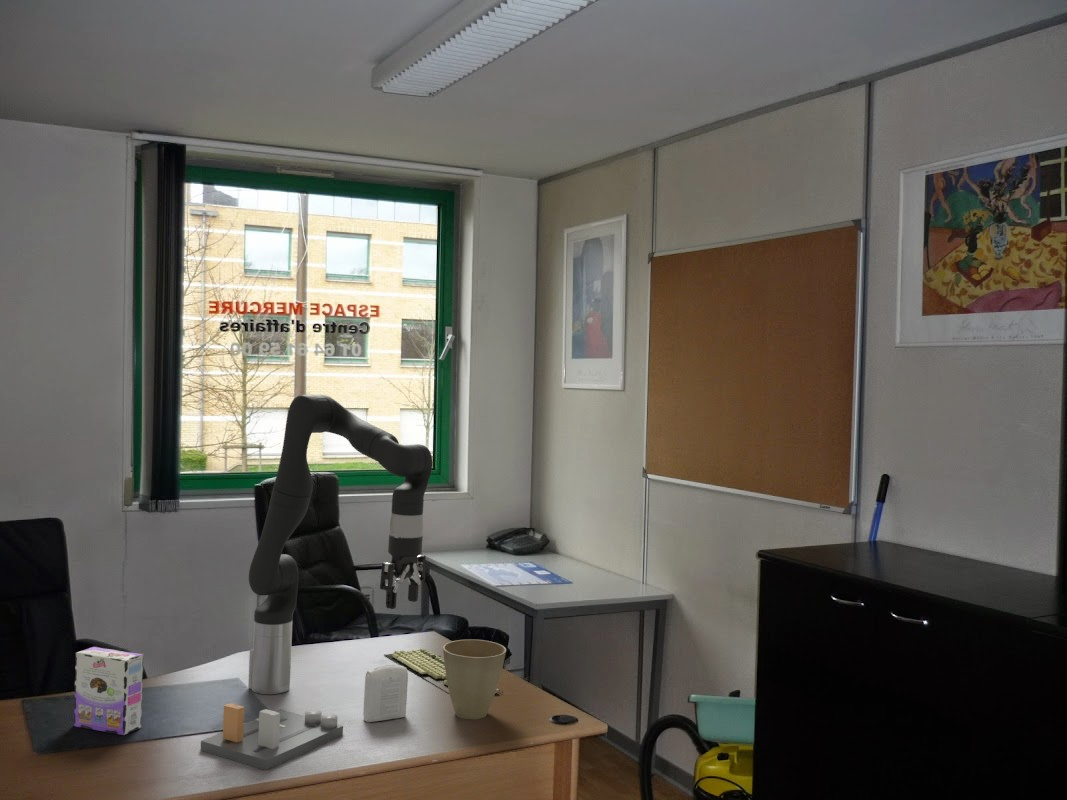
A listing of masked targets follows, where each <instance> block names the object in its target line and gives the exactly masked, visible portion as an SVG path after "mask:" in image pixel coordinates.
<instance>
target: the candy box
mask: <svg viewBox="0 0 1067 800" xmlns="http://www.w3.org/2000/svg"><path fill="white" fill-rule="evenodd" d="M74 658H75V661H74V663H75V665H74V666H75V667H74V668H75V671H74V674H75V675H74V711H73V719H74V720H73V726H74V727H76V728H83V729H88V730H94V731H100V732H105V733H110V734H115V735H120V736H121V735H122V736H125V735H128V734H130V733H131V732H134V731H136V730H139V729H140V728H142V714H143V713H142V712H143V711H142V710H143V709H142V708H143V707H142V706H143V678H144V653H136V652H130V651H121V650H118V649H111V648H110V649H109V648H105V647H98V646H92V647H89V648H86V649H83V650H80V651H77V652H75V657H74Z"/></svg>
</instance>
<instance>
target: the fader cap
mask: <svg viewBox="0 0 1067 800" xmlns="http://www.w3.org/2000/svg"><path fill="white" fill-rule="evenodd" d="M222 717H223V721H222V723H223V724H222V732H223V739H226V740H229V741H233V742H236V743H237V742H240V741H242V740H243V730H244V724H245V706H242V705H239V704H235V703H231V702H230V703H228V704H225V705H223V716H222Z"/></svg>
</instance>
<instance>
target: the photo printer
mask: <svg viewBox="0 0 1067 800" xmlns="http://www.w3.org/2000/svg"><path fill="white" fill-rule="evenodd" d="M364 678H365V679H364V695H363V696H364V697H363V712H362V713H363V714H362V715H363V721H365V722H367V723H372V722H373V723H374V722H380V721H388V720H392V719H393V720H394V719H400V718H405V717H406V716H407V701H408V682H409V681H408V680H409V672H408V669H406V668H405V667H404V666H401V665H399V664H383V665H378V666H376V667H373V668H370V669H369V670H367V671H366V673H365V676H364Z"/></svg>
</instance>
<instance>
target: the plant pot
mask: <svg viewBox="0 0 1067 800" xmlns="http://www.w3.org/2000/svg"><path fill="white" fill-rule="evenodd" d="M442 651H443V652H442V653H443V659H444V664H445V672H446V679H447V684H448V687H447V688H448V693H450V694H449V697H450V700H451V704H452V707H453V711H454V713H455V715H456V716H457V717H458V718H461V719H465V720H481V719H483V718H485V717H486V716H487V714H488V712H489V711H490V710H489V709H490V708H491V706H492V702H493V700H494V697H495V696H496V695H495V692H496V689H498V686H499V683H500V679H501V677H502V673H503V668H504V662H505V658H506V653H507V648H506V647H505V646H504V645H502V644H500V643H498V642H493V641H491V640H490V641H489V640H484V639H459V640H457V639H456V640H453V641H449V642H447V643H445V644H444V645H443V646H442Z"/></svg>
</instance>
